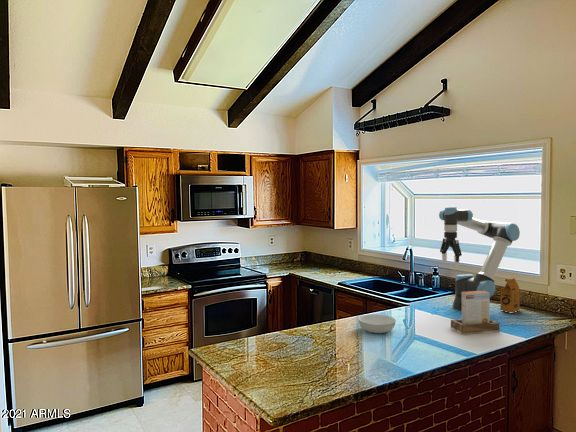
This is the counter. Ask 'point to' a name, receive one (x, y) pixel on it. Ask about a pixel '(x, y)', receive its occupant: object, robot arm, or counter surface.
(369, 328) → the serving bowl
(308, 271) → the counter surface
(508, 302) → the coffee package
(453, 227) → the robot arm
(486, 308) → the cracker box
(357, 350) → the counter surface
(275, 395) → the counter surface
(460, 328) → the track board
